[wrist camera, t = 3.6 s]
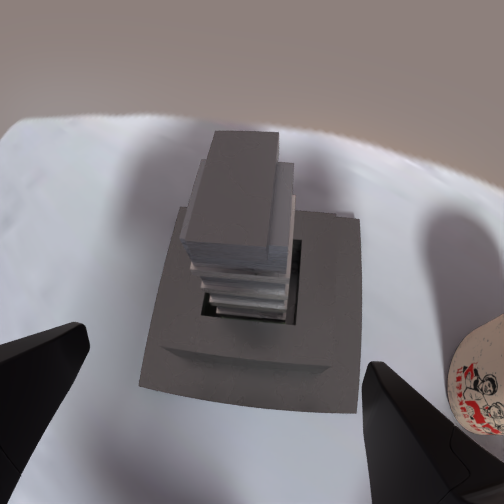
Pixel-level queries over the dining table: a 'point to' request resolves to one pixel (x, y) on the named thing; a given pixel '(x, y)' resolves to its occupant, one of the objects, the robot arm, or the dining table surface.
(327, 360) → the stand base
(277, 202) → the column
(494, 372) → the teacup with lid
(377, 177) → the dining table surface
